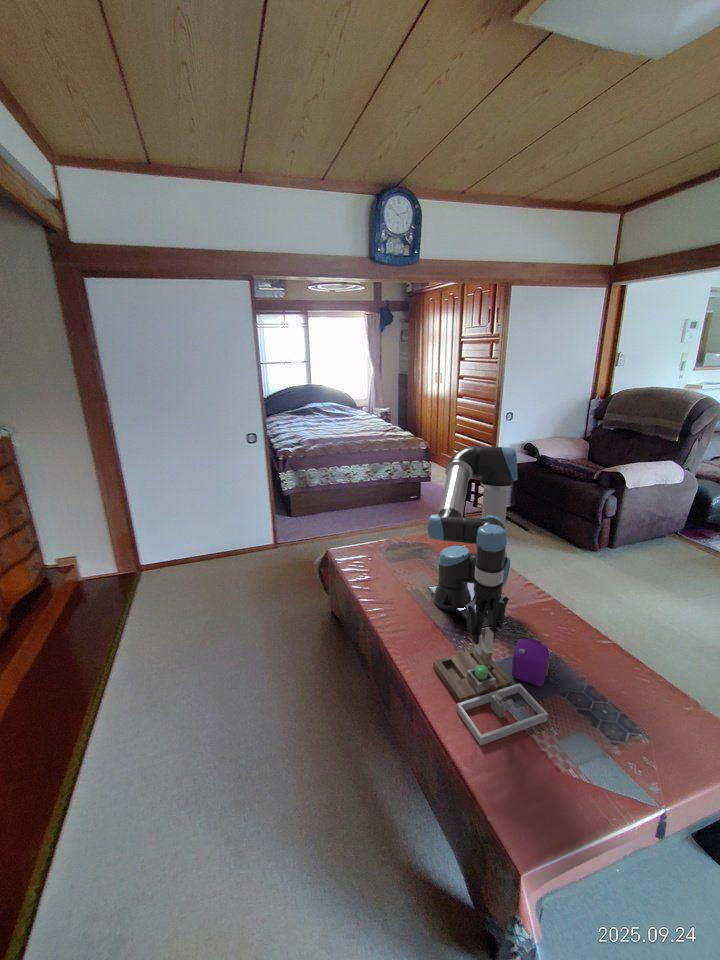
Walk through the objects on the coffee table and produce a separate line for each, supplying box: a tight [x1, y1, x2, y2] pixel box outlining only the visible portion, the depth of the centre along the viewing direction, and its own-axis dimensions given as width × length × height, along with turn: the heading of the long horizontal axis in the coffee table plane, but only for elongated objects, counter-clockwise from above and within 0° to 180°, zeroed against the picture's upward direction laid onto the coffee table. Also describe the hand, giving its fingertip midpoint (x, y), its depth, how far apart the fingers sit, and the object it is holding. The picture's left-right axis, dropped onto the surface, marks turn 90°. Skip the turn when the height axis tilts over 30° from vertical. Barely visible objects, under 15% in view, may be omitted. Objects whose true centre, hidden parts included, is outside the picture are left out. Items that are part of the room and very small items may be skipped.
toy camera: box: [511, 638, 550, 687], centre depth 129 cm, size 11×14×10 cm
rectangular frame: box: [456, 683, 549, 747], centre depth 114 cm, size 22×12×2 cm, turn 109°
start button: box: [475, 665, 488, 682], centre depth 122 cm, size 4×4×4 cm
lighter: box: [490, 694, 515, 719], centre depth 114 cm, size 7×2×8 cm, turn 23°
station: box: [432, 641, 513, 704], centre depth 127 cm, size 18×16×8 cm
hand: (483, 649), depth 119 cm, fingers open, 3 cm apart
